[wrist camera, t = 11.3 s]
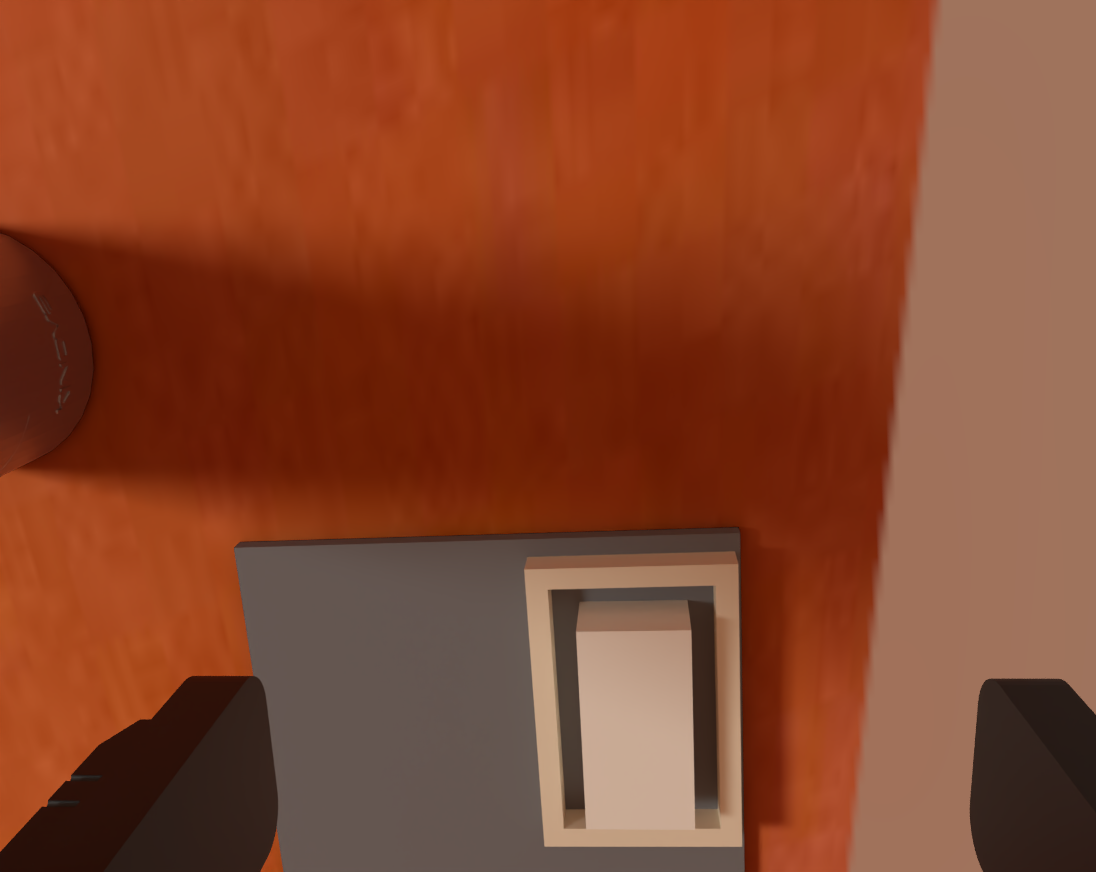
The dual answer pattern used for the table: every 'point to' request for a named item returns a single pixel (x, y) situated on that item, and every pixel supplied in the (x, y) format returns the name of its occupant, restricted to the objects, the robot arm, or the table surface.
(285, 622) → the mat
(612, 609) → the tile
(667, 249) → the table surface
